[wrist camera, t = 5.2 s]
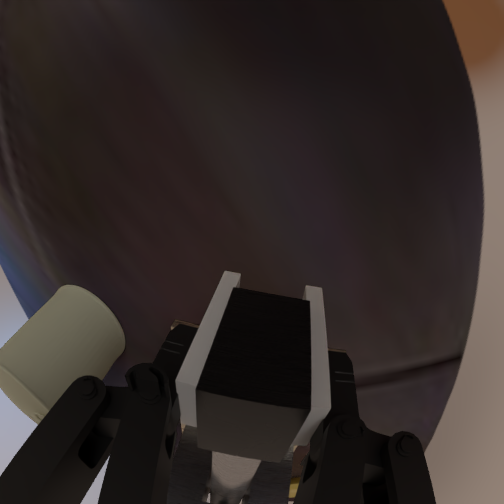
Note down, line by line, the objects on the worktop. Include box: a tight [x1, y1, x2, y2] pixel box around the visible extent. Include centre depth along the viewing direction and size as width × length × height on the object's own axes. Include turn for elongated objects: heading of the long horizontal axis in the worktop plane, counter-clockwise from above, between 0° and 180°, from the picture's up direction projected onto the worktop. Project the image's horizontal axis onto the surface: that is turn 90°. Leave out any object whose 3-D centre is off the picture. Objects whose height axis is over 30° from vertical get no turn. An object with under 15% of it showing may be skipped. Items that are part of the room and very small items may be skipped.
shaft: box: [195, 287, 311, 504], centre depth 15 cm, size 27×3×5 cm, turn 173°
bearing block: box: [166, 319, 346, 504], centre depth 21 cm, size 26×14×14 cm, turn 173°
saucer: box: [289, 477, 301, 497], centre depth 37 cm, size 9×9×2 cm
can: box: [0, 285, 125, 425], centre depth 20 cm, size 9×9×12 cm
